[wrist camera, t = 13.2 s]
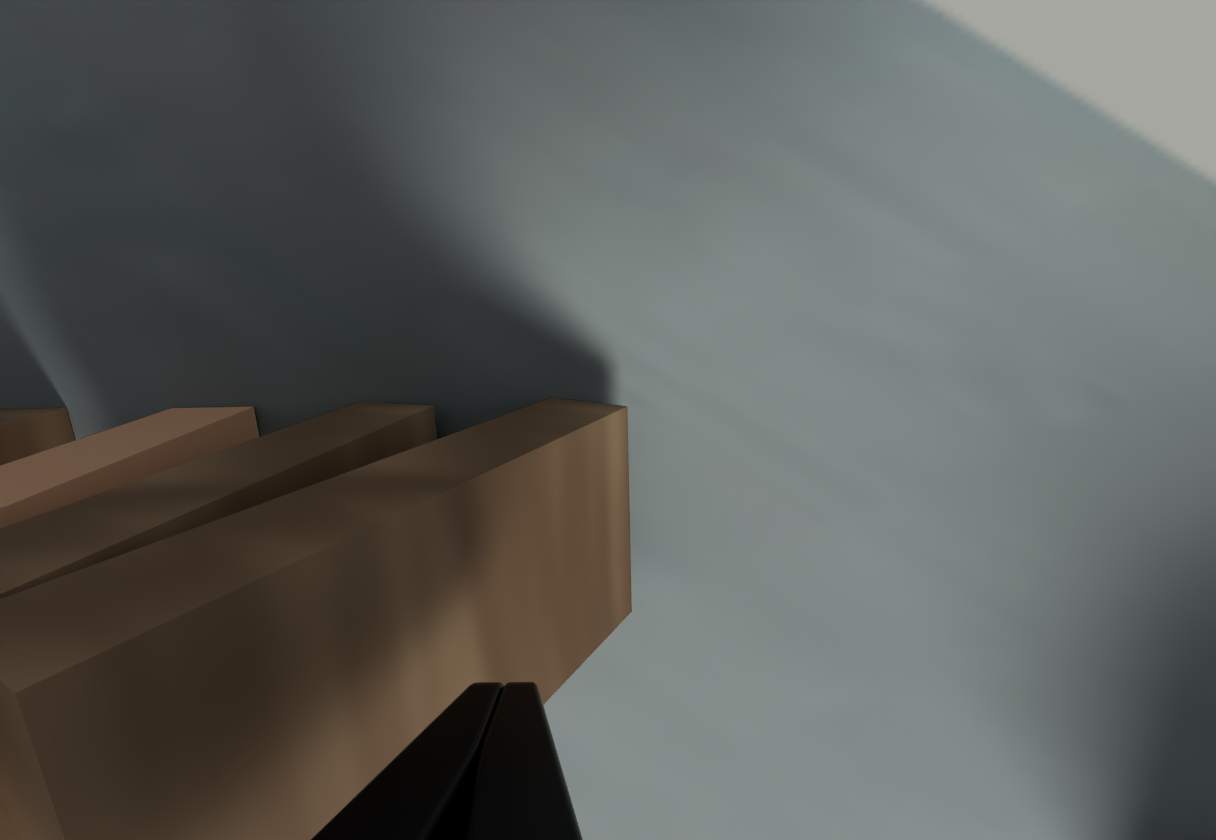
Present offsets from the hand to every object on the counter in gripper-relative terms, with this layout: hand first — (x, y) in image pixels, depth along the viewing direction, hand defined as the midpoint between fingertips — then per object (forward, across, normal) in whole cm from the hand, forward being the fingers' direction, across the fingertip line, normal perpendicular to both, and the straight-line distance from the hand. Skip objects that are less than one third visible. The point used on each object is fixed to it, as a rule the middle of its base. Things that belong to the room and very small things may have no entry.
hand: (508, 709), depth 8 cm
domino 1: (+6, -1, 0) cm, 7 cm away
